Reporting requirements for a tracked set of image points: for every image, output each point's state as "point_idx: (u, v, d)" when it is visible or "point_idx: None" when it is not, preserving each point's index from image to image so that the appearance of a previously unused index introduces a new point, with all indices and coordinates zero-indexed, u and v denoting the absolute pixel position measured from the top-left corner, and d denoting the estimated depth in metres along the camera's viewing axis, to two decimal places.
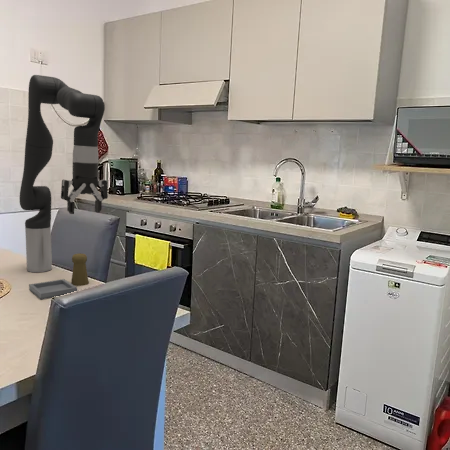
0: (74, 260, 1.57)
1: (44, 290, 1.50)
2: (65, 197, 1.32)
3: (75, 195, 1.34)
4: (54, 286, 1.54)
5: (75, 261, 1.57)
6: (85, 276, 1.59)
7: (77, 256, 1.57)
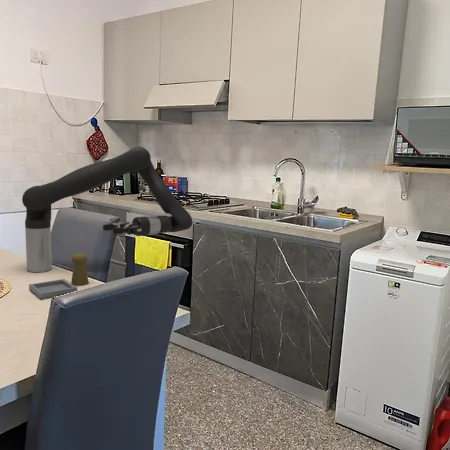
0: (74, 260, 1.57)
1: (44, 290, 1.50)
2: None
3: None
4: (54, 286, 1.54)
5: (75, 261, 1.57)
6: (85, 276, 1.59)
7: (77, 256, 1.57)
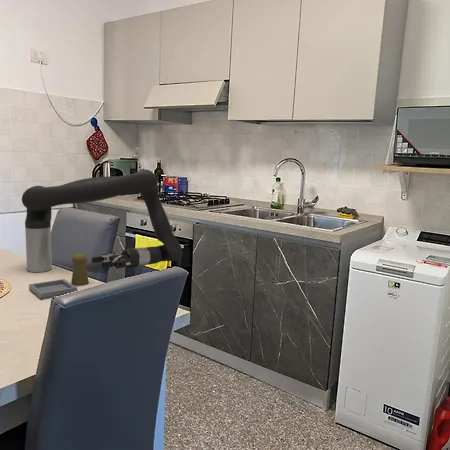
0: (74, 260, 1.57)
1: (44, 290, 1.50)
2: None
3: None
4: (54, 286, 1.54)
5: (75, 261, 1.57)
6: (85, 276, 1.59)
7: (77, 256, 1.57)
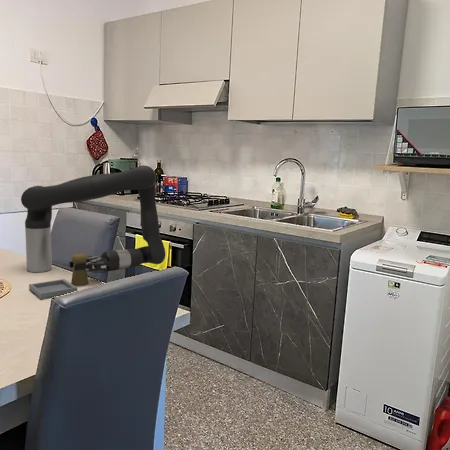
0: (74, 260, 1.57)
1: (44, 290, 1.50)
2: (91, 270, 1.58)
3: None
4: (54, 286, 1.54)
5: (75, 261, 1.57)
6: (85, 276, 1.59)
7: (77, 256, 1.57)
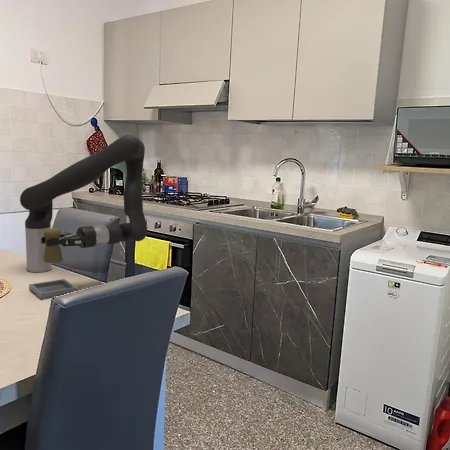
0: (46, 235, 1.45)
1: (44, 290, 1.50)
2: (64, 246, 1.46)
3: None
4: (54, 286, 1.54)
5: (47, 236, 1.45)
6: (58, 252, 1.48)
7: (49, 230, 1.45)
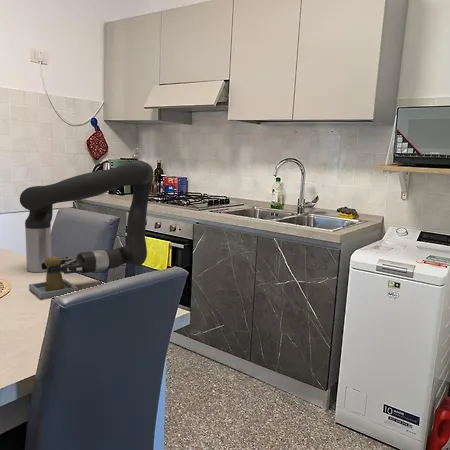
0: (47, 263, 1.47)
1: (44, 290, 1.50)
2: (66, 273, 1.47)
3: None
4: None
5: (48, 264, 1.47)
6: (60, 280, 1.49)
7: (50, 258, 1.47)
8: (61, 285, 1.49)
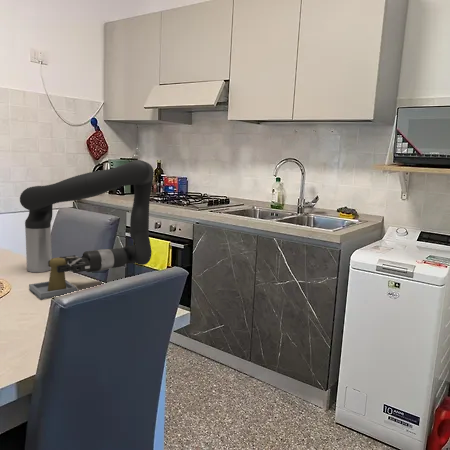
0: (51, 264, 1.47)
1: (44, 290, 1.50)
2: None
3: None
4: None
5: (52, 265, 1.46)
6: (63, 282, 1.48)
7: (55, 260, 1.47)
8: (63, 287, 1.48)
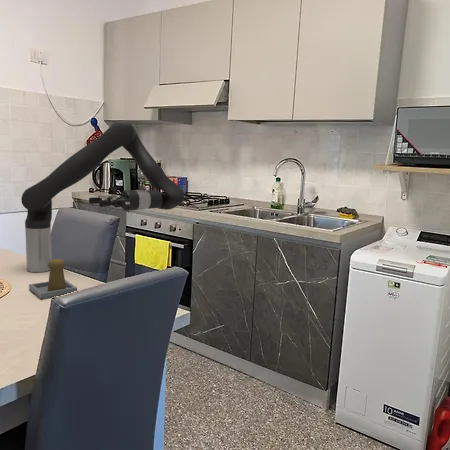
0: (50, 266, 1.46)
1: (44, 290, 1.50)
2: (116, 207, 1.54)
3: None
4: None
5: (51, 267, 1.46)
6: (62, 283, 1.48)
7: (53, 262, 1.46)
8: (63, 288, 1.48)
